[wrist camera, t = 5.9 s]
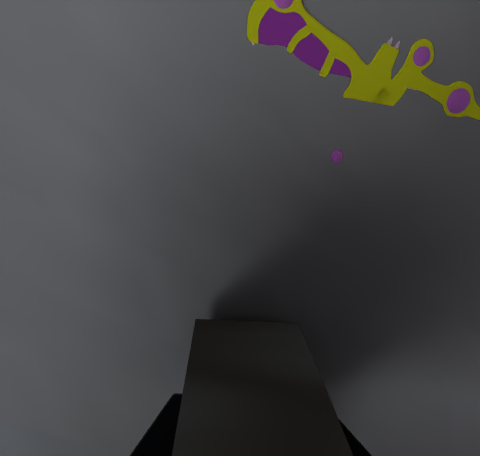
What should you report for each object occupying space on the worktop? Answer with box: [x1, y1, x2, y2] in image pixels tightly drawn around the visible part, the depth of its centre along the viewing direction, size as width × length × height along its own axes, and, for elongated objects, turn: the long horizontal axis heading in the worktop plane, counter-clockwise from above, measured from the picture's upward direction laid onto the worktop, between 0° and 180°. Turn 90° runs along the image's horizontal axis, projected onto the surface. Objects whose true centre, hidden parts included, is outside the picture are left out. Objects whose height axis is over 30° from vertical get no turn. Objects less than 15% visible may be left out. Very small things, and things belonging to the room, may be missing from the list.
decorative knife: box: [247, 0, 480, 163], centre depth 7 cm, size 12×1×5 cm
